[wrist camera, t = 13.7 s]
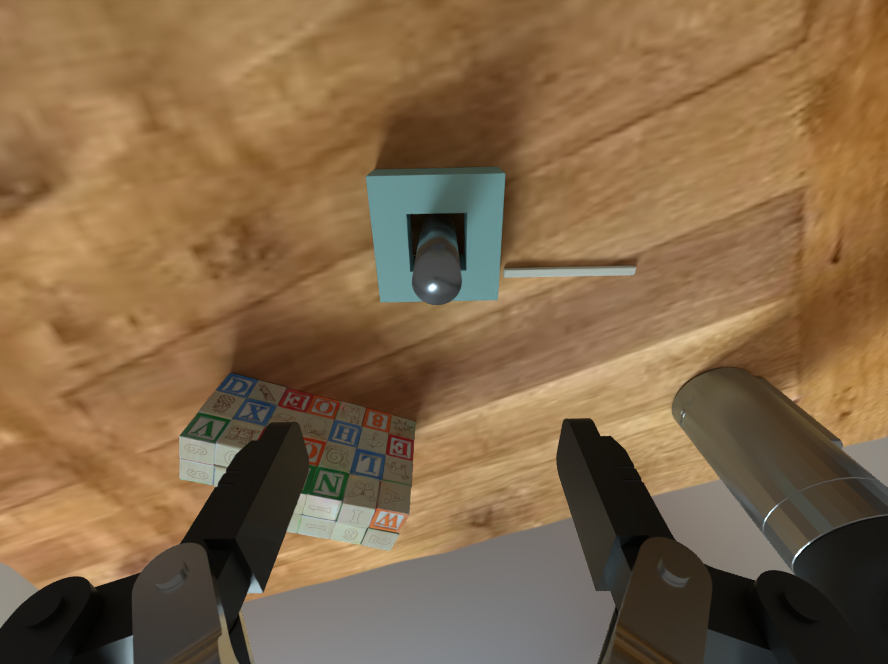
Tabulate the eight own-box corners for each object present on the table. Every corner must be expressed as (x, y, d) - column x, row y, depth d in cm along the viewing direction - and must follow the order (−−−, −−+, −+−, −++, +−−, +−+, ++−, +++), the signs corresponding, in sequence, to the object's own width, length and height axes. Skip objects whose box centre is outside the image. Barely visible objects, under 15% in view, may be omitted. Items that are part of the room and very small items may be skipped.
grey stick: (633, 265, 34) (636, 267, 34) (631, 272, 35) (634, 275, 34) (503, 268, 34) (504, 270, 34) (503, 275, 35) (504, 277, 34)
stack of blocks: (226, 411, 43) (155, 508, 32) (230, 370, 40) (154, 462, 30) (402, 454, 47) (390, 554, 36) (417, 420, 44) (410, 517, 33)
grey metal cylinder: (455, 211, 32) (462, 257, 21) (455, 245, 33) (461, 304, 23) (420, 212, 32) (410, 258, 21) (422, 246, 33) (413, 305, 23)
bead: (497, 166, 30) (505, 173, 27) (492, 281, 35) (497, 299, 32) (374, 169, 30) (365, 176, 27) (386, 284, 35) (380, 302, 32)
